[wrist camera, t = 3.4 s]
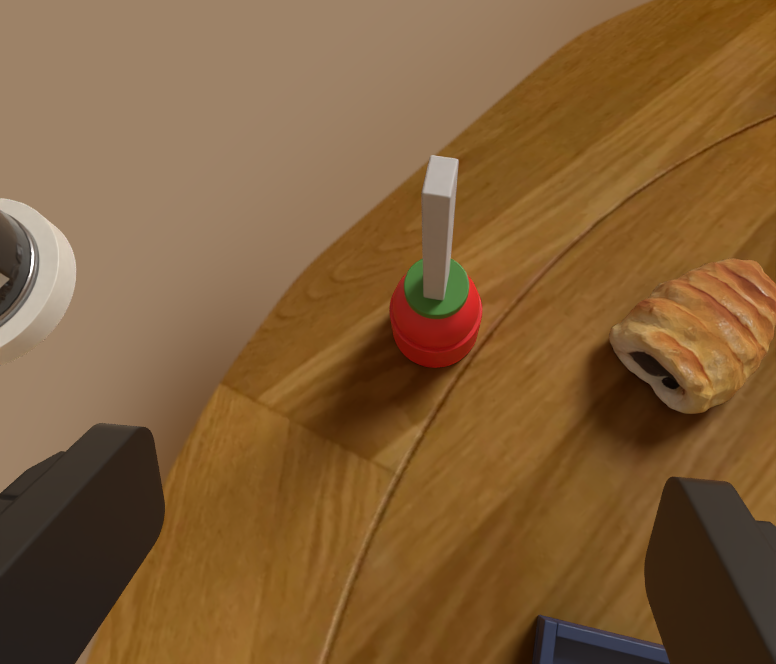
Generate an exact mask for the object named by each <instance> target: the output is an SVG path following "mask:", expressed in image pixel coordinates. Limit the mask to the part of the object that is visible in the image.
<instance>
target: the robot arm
mask: <svg viewBox="0 0 776 664" xmlns="http://www.w3.org/2000/svg"><path fill="white" fill-rule="evenodd" d="M39 263H40V260H39V250H38V246H37V243H36V241H35V239H34V237H33V235H32V234H31V232H30V231H29V230H28V229H27V228H26V227H25V226H24V225H23V224H22V223H20V222H19V221H18V220H16V219H15V218H14V217H12V216H10V215H8V214H6V213H4V212H3V211H2V210H0V327H1V326H2V325H3V324H5V323H6V322H7V321H8V320H10V319H11V318H12V317H13V316H14V315H15V314H16V313H17V312H18V311H19V310H20V308H21V307H22V306H23V305H24V303H25V302H26V301H27V299H28V297H29V296H30V294H31V292H32V290H33V288H34V285H35V283H36V280H37V276H38V272H39ZM164 514H165V502H164V496H163V490H162V484H161V478H160V472H159V466H158V461H157V455H156V449H155V443H154V438H153V435H152V433H151V431H150V430H149V429H148V428H146V427H137V426H127V425H116V424H105V423H99V424H96V425H94V426H93V427H92V428H90V429H89V430H88V431H87V432H86V433H85V434H84V435H83V436H82V437H81V438H80V439H79V440H78V441H76V442H75V443H74V444H73V445H72V446H71V447H70V448H69V449H68V450H67V451H66V452H63V451H61V452H59V453H57V454H55V455H53V456H52V457H49V458H48V459H46V460H44V461H42V462H40V463H39V464H37V465H35V466H33V467H31V468H29V469H28V470H26V471H25V472H24V473H23V474H22V475H20V476H19V477H18V478H17V479H16V480H15V481H14V482H13V483H11V484H10V485H9V486H8V487H7V488H6V489H5V490H4V491H3V492H1V493H0V664H75V663H76V661H77V660H78V658H79V657H80V655H81V653H82V652H83V651H84V649H85V648H86V646H87V645H88V643H89V642H90V640H91V639H92V637H93V636H94V634H95V633H96V631H97V630H98V628H99V627H100V625H101V624H102V622H103V621H104V619H105V618H106V616H107V615H108V613H109V612H110V610H111V609H112V607H113V606H114V604H115V603H116V601H117V600H118V598H119V597H120V595H121V594H122V592H123V591H124V589H125V588H126V586H127V585H128V583H129V582H130V580H131V579H132V577H133V576H134V574H135V573H136V571H137V570H138V568H139V567H140V565H141V564H142V562H143V561H144V559H145V558H146V556H147V555H148V553H149V552H150V550H151V549H152V547H153V546H154V544H155V542H156V541H157V539H158V537H159V534H160V532H161V529H162V525H163V521H164ZM644 575H645V587H646V593H647V597H648V601H649V604H650V607H651V610H652V613H653V615H654V618H655V621H656V624H657V627H658V630H659V633H660V636H661V639H662V642H663V645H664V648H665V650H666V653H667V656H668V659H669V662H670V664H776V526H774V525H773V524H772V523H771V522H766V521H756V520H755V519H754V518H753V516H752V515H751V513H750V511H749V510H748V508H747V507H746V505H745V504H744V502H743V501H742V499H741V497H740V496H739V494H738V493H737V491H736V490H735V488H734V487H733V486H732V485H731V484H730V483H728V482H725V481H715V480H704V479H693V478H682V477H670V478H669V479H668V480H667V482H666V484H665V486H664V489H663V492H662V496H661V500H660V504H659V507H658V511H657V515H656V519H655V522H654V526H653V530H652V534H651V538H650V541H649V545H648V549H647V553H646V558H645V569H644Z"/></svg>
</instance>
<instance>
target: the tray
mask: <svg viewBox="0 0 776 664" xmlns="http://www.w3.org/2000/svg"><path fill="white" fill-rule="evenodd" d="M532 664H670V662H669V659H668V656H667V653H666V650H665V648H664V645H660V644H656V643H652V642H648V641H644V640H640V639H636V638H631V637H627V636H623V635H619V634H615V633H611V632H607V631H603V630H599V629H595V628H591V627H587V626H583V625H578V624H574V623H570V622H566V621H562V620H558V619H554V618H550V617H546V616H542V615H538V620H537V628H536V636H535V644H534V652H533V660H532Z"/></svg>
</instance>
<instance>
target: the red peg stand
mask: <svg viewBox="0 0 776 664" xmlns="http://www.w3.org/2000/svg"><path fill="white" fill-rule="evenodd" d="M457 174H458V159H454V158H448V157H441V156H434V155H432V156H430V159H429V163H428V167H427V172H426V176H425V180H424V185H423V189H422V241H423V259H421V260H419V261H417V262H416V263H415V264H414V265H413V266H412V267H411V268H410V269H409V270H408V272H407V273H406V274H405V275H404V276H403V278H402V279H401V280H400V282H399V283H398V285H397V287H396V289H395V291H394V293H393V295H392V298H391V302H390V319H391V325H392V331H393V336H394V340H395V342H396V344H397V346H398V348H399V349H400V351H401V352H402V353H403V354H404V355H405V356H406V357H407V358H408V359H410V360H411V361H413V362H415V363H416V364H419V365H422V366H425V367H432V368H439V367H445V366H449V365H452V364H454V363H456V362H458V361H460V360H461V359H462V358H464V357H465V356H466V355H467V354H468V353H469V352H470V350H471V349H472V347H473V346H474V344H475V341H476V338H477V334H478V330H479V326H480V322H481V318H482V303H481V299H480V296H479V294H478V291H477V289H476V287H475V285H474V283H473V281H472V280H471V278H470V277H469V276H468V275H467V274H466V272H465V270H464V269H463V267H462V266H461V265H460V264H458V263H457V262H456V261H454V260H452V259H451V247H452V234H453V222H454V210H455V198H456V186H457Z"/></svg>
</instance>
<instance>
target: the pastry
mask: <svg viewBox="0 0 776 664" xmlns="http://www.w3.org/2000/svg"><path fill="white" fill-rule="evenodd" d="M775 324H776V284H775V283H774V282H773V281H772V280H771V279H770V278H769V277H768V276H767V275H766V274H765V273H764V272H763V270H762V267H761V266H760V265H759V264H758V263H757V262H756V261H752V260H739V259H725V260H721V261H719V262H713V263H707V264H704V265H702V266H701V267H699V268H696V269H693V270H691V271H689V272H687V273H686V274H684V275H682V276H681V277H680V278H678V279H675V280H670V281H667V282H664V283H661V284H659V285H658V286H657V287H656V288H655V289H654V290H653V292H652V295H650V296H649V297H648V298H647V299H645V300H643V301H641V302H640V303H638V304H637V305H636V306H635V307H634V309H632V310H631V312H630V313H629V315H628V316H627V317H626V318H625V319H624V320H623V321H622V322H621V323H620V324H617V325H615V326H613V327H612V328H611V331H610V334H609V339H610V343H611V345H612V346H613V350H614V352H615V353H616V355H617V356H618V358H619V359H620V360H621V361H622V363H623V364H624V365H625V366H626V367H627V368H628V369H629V370H630V371H631V372H633V373H635V374H636V375H637V376H638V377H639V378H640V379H642V380H644V381H645V382H647V383H649V384H650V385H651V386H652V388H653V390H654V392H655V393H656V395H657V396H658V397H659V398H660V399H661V400H662V401H663V402H664V403H665V404H666V405H667V406H668V407H670V408H671V409H674V410H677V411H679V412H682V413H685V414H695V413H702V412H705V411H706V410H707V409H709V408H710V407H713V406H716V405H719V404H722V403H725V402H727V401H728V400H729V399H731V398H732V397H733V396H734V395H735V393H736V392H737V390H739V389H740V388H741V387H742V385H743V384H744V383H745V381H746V380H747V378H748V377H749V376H751V375H752V374H753V373H754V372H755V371H756V370H757V369H758V368H759V366H760V362H761V361H762V359H763V358H764V356H765V355H766V353H767V352H768V348H769V343H770V342H771V340H772V339H773V337H774V329H775Z"/></svg>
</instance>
